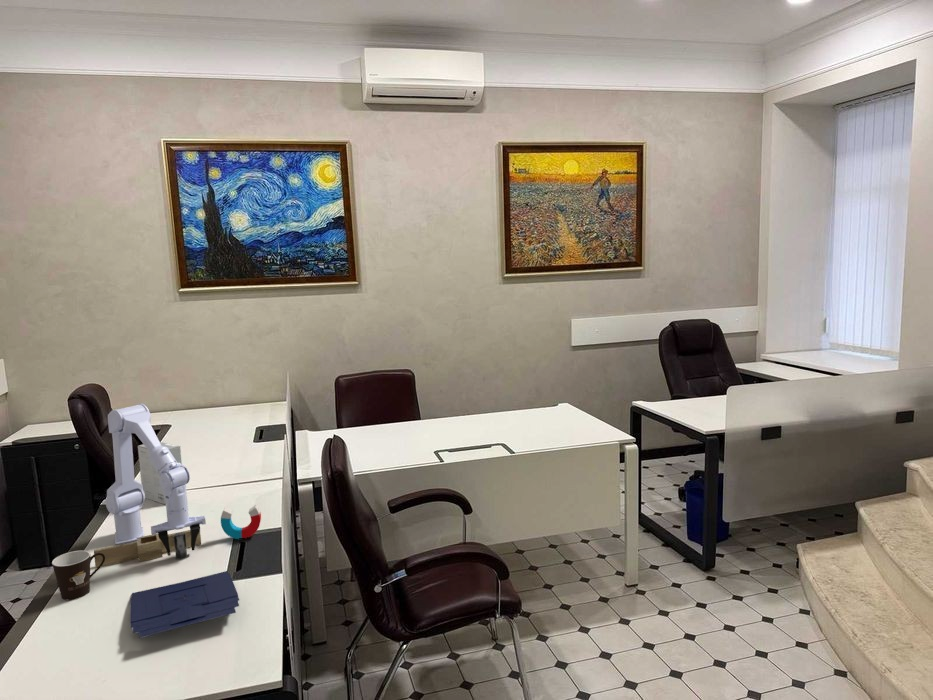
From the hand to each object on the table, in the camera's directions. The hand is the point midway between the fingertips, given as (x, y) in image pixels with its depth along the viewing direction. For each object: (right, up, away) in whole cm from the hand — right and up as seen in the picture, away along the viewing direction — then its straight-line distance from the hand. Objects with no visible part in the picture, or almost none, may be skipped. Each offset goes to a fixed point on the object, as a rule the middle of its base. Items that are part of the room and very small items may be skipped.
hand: (181, 551), depth 187 cm
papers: (+14, -6, -28) cm, 31 cm away
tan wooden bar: (-10, -2, +2) cm, 10 cm away
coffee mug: (-18, -5, -19) cm, 26 cm away
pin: (0, -2, 0) cm, 2 cm away
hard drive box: (-27, +5, +46) cm, 54 cm away
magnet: (+14, 0, +12) cm, 19 cm away
